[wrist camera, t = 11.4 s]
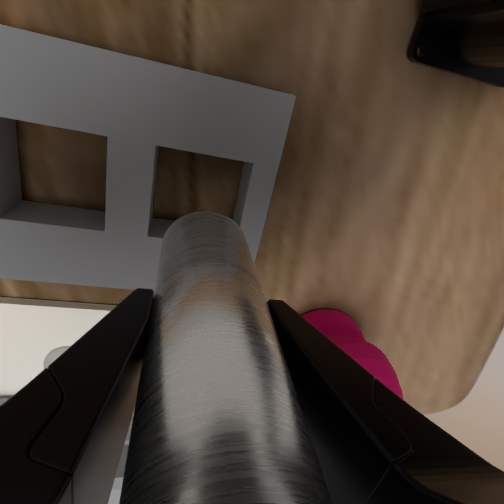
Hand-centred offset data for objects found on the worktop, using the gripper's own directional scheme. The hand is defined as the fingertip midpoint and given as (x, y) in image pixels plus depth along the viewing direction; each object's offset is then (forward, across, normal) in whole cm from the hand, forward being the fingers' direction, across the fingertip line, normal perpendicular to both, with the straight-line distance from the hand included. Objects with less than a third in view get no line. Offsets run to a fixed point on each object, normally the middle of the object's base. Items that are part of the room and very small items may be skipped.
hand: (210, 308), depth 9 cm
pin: (+3, 0, 0) cm, 3 cm away
